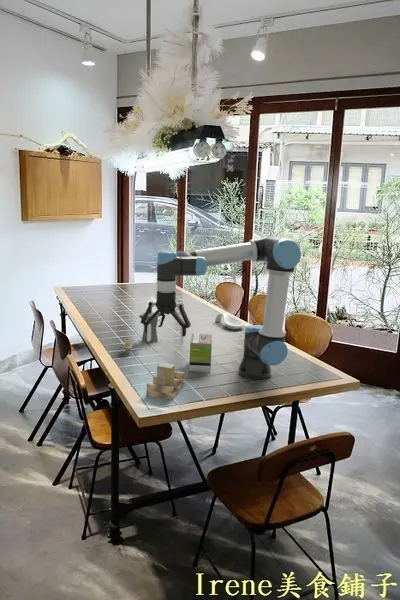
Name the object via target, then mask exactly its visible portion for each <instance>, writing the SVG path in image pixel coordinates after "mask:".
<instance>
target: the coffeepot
mask: <svg viewBox="0 0 400 600" xmlns="http://www.w3.org/2000/svg"><path fill="white" fill-rule="evenodd" d="M154 313H155V312H153V308H152V309H151V311H150V313H149V315H148V317H147V319H146V321H147V320H148V319H149V318H150V317H151V316H152V315H153V314H154ZM144 314H145V312H143V313H142V314H140V315H138V317H139V318H140V319H141V320H142V318H143V316H144ZM159 317H161V320H160V323H159V325H158V321H159V320H158V319H159ZM165 319H166V314H161V313H160V312H159V313H158V315H157V316H156V317H155V318H154V319H153V320H152V321H151V322H150V323H149V324H151V340H150V341H149V342H148V341H147V333H145V325H144V324H143V323H142V324H143V332H142V337H141V338H142V339H141V342H143V343H145V342H146V344H154V343H153V342H155V343H157V342H158V340H159V339H158V334H157V333H158V332H157V327H158V328H162V327H163V324H164V322H165ZM141 320H140V321H141Z"/></svg>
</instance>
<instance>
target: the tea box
mask: <svg viewBox="0 0 400 600" xmlns="http://www.w3.org/2000/svg"><path fill="white" fill-rule="evenodd" d="M190 337H191V338H190V343H189V366H188V367H189V371H190V372H197V373H205V374H206V373H207V374H210V373H211V366H212V345H213V344H212V342H213V341H212V333H211V334H209V333H206V334H205V333H191V336H190Z"/></svg>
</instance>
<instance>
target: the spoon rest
mask: <svg viewBox="0 0 400 600" xmlns="http://www.w3.org/2000/svg"><path fill="white" fill-rule="evenodd" d="M222 316H223V322H224V325H225V326H226V328H228V329H229V330H234V331H235V330H236V331H237V330H240V329H241V328H243V327H244V325H245V324H244V323H243V322H242V321H240V320H239V319H237V318H235V316H232V315H230V314H229V313H225V312H223V313H218V314H217V315H216V316H215V319H214V322H215V323H216V322H217V323H219V322H220V323H221V322H222Z"/></svg>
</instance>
